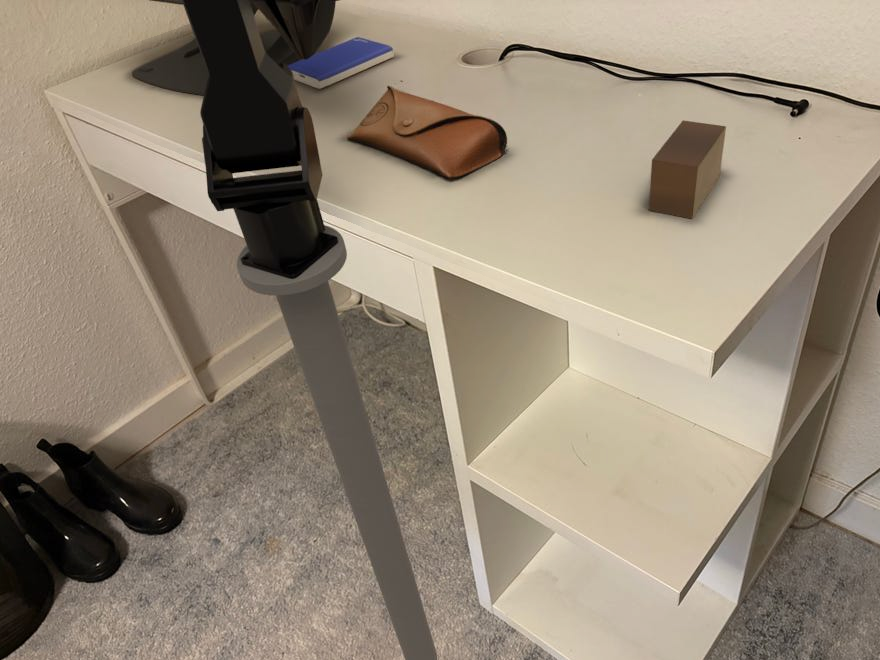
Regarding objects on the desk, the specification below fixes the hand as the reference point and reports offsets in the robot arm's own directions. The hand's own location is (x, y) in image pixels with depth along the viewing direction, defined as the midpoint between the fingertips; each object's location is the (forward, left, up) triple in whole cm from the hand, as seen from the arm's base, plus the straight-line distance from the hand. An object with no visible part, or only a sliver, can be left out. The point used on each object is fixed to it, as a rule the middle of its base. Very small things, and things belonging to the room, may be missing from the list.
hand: (306, 58), depth 81 cm
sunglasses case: (0, -14, -8) cm, 16 cm away
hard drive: (+16, +10, -8) cm, 21 cm away
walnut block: (0, -43, -8) cm, 44 cm away
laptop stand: (+14, +28, -8) cm, 32 cm away
